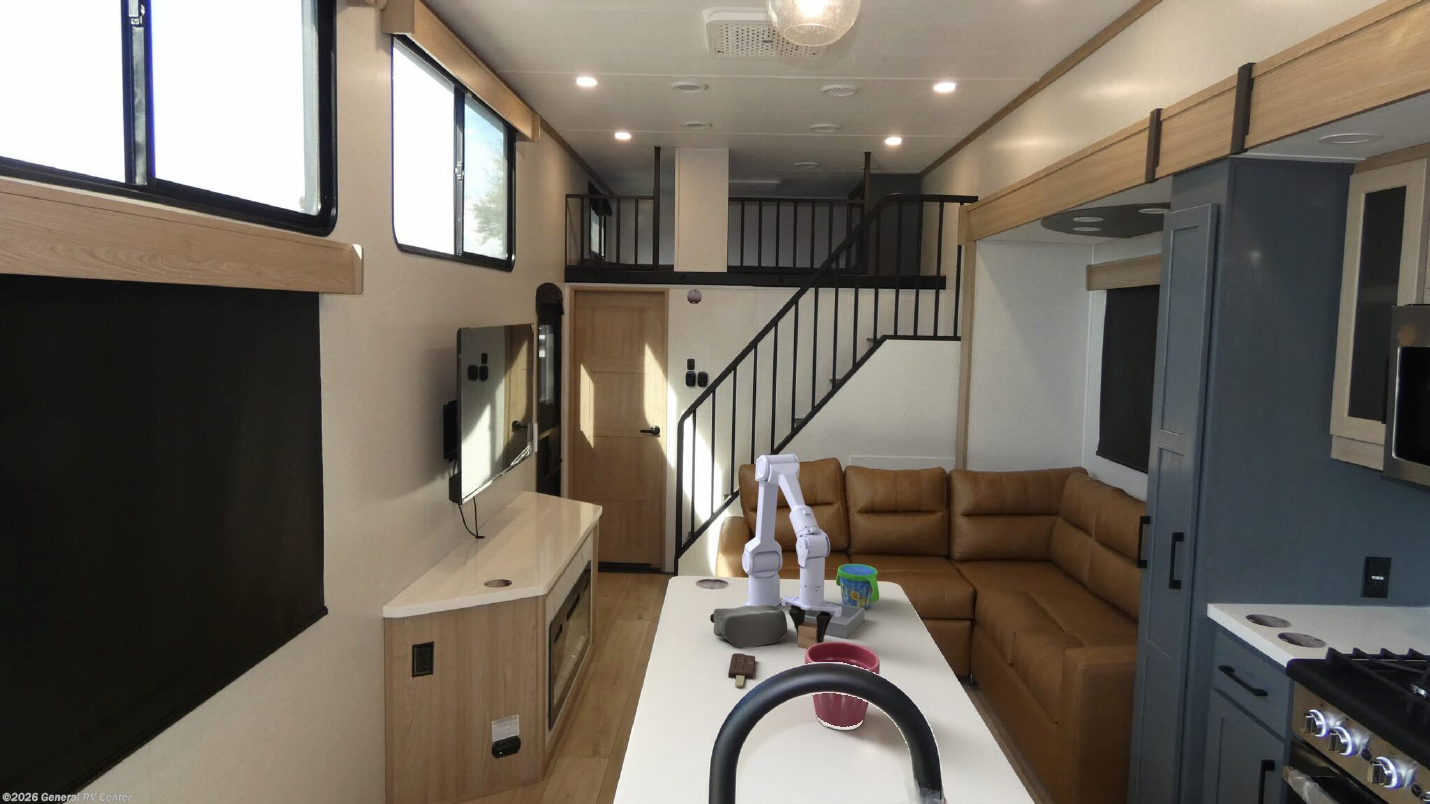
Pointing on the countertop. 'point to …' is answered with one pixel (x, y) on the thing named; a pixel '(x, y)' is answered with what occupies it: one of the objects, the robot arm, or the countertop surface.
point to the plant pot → (840, 706)
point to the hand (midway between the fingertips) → (810, 639)
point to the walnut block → (807, 634)
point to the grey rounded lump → (750, 625)
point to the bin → (840, 620)
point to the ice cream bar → (741, 668)
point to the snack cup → (858, 584)
